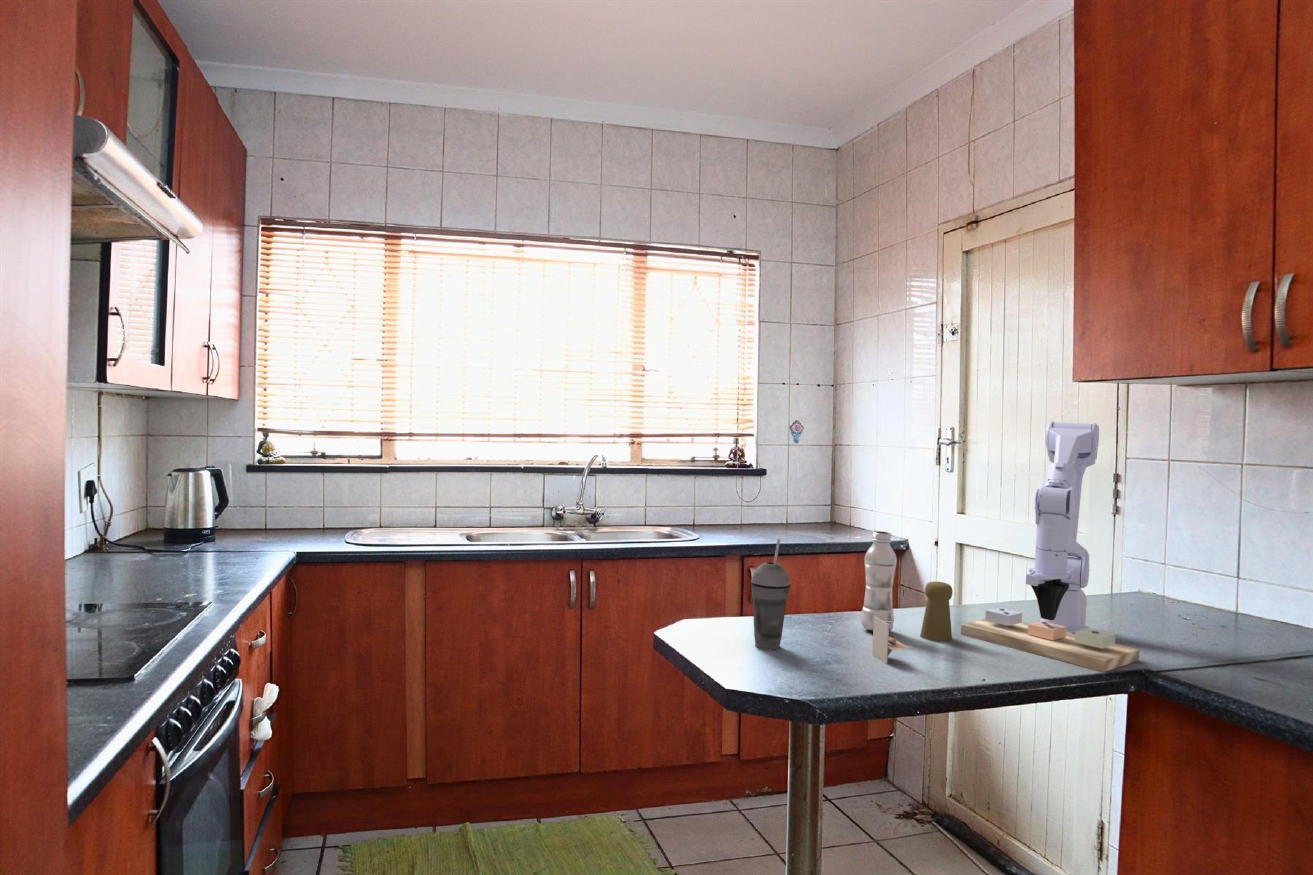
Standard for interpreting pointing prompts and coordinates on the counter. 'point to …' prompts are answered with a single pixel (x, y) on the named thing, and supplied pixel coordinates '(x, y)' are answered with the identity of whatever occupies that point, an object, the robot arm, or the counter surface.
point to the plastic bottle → (879, 581)
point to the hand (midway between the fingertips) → (1047, 618)
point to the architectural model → (884, 640)
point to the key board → (1052, 645)
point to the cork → (937, 612)
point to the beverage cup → (769, 602)
